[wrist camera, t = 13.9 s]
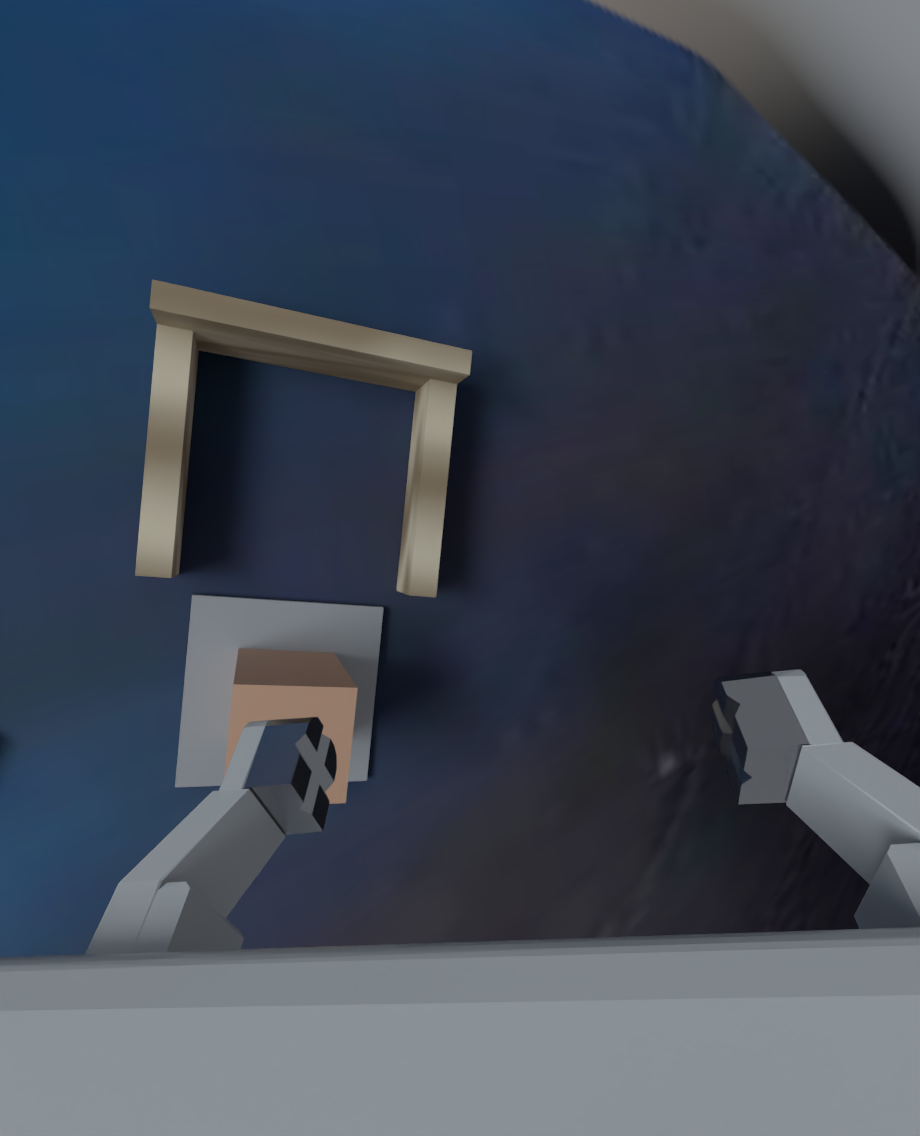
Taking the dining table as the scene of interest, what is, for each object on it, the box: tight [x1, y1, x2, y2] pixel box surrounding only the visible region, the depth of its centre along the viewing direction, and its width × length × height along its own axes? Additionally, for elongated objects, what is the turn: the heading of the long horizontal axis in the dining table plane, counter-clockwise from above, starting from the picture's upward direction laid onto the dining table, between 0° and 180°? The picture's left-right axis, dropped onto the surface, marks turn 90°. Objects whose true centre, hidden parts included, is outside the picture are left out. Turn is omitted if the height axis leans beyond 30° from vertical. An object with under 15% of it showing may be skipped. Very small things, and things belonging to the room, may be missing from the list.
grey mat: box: [175, 594, 384, 787], centre depth 32 cm, size 10×10×1 cm
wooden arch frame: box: [135, 280, 472, 597], centre depth 30 cm, size 13×14×5 cm
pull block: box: [224, 648, 358, 804], centre depth 28 cm, size 5×5×8 cm
